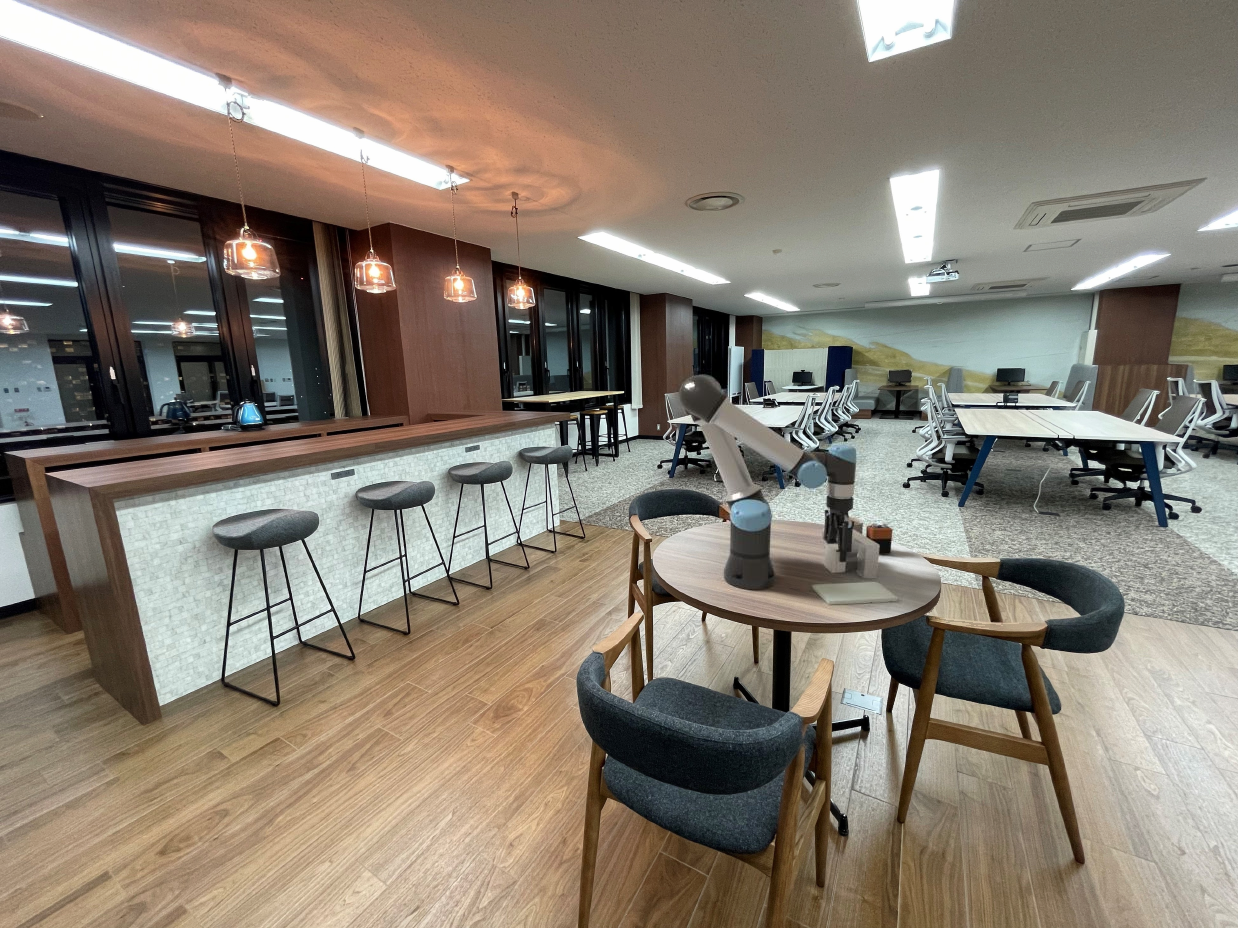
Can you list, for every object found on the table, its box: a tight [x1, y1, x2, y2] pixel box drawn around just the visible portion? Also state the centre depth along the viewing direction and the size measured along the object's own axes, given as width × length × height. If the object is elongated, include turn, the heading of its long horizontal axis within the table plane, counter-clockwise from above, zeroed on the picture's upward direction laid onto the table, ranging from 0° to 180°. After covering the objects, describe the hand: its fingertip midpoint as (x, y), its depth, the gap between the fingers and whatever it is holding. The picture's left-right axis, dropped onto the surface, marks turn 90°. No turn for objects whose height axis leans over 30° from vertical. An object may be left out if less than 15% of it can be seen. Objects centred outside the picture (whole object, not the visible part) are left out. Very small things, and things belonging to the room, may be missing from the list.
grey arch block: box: [846, 529, 880, 580], centre depth 148 cm, size 4×15×10 cm, turn 3°
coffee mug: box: [821, 516, 864, 548], centre depth 166 cm, size 13×10×10 cm
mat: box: [811, 581, 899, 605], centre depth 132 cm, size 19×10×1 cm, turn 93°
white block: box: [824, 543, 858, 574], centre depth 148 cm, size 14×5×8 cm, turn 93°
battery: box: [865, 523, 893, 555], centre depth 161 cm, size 4×7×10 cm, turn 89°
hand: (835, 566), depth 149 cm, fingers closed on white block, 5 cm apart
